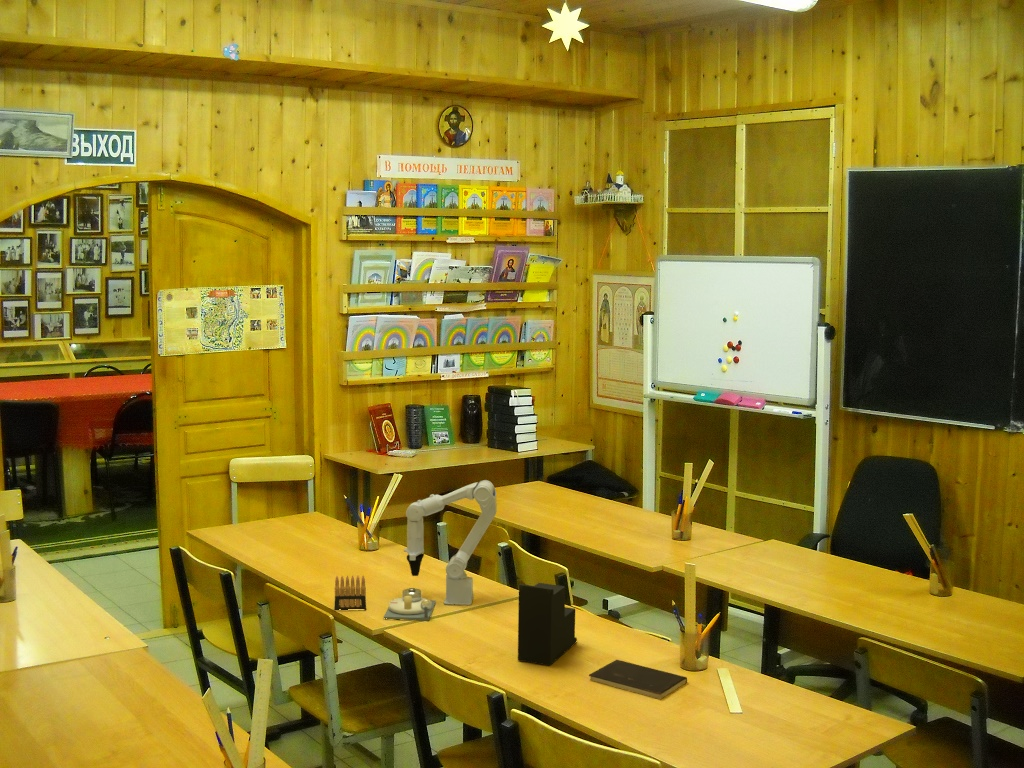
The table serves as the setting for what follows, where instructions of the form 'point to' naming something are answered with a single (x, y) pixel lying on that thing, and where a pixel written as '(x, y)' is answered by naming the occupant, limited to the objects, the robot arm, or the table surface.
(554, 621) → the bookend
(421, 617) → the base plate
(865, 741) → the table surface
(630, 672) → the hardcover book
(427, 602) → the dial gauge
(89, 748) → the table surface
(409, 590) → the cover
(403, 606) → the turntable
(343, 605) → the ammunition clip
